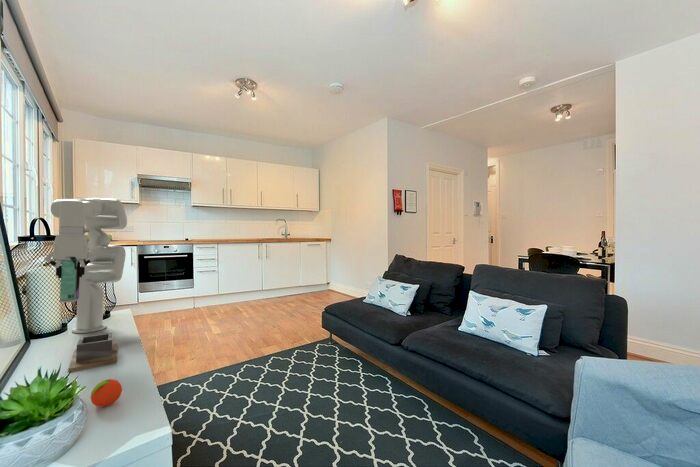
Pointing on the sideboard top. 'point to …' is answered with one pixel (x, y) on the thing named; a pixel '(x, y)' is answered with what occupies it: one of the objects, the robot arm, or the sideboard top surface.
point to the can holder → (94, 352)
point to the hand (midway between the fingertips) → (70, 276)
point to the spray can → (69, 279)
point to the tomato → (106, 393)
